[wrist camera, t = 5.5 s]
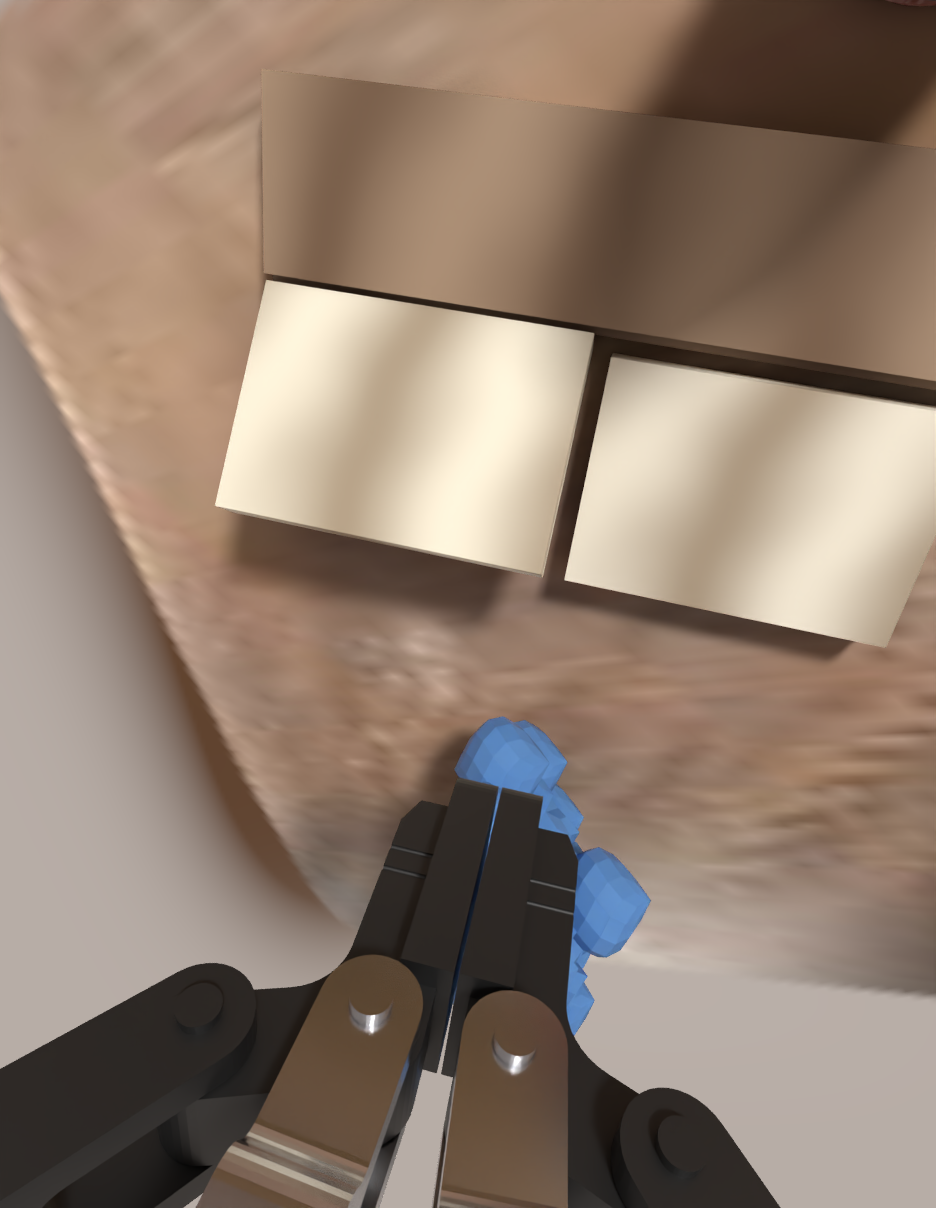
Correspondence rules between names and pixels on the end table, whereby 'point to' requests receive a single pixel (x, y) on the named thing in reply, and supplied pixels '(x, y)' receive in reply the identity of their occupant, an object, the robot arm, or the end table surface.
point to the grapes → (603, 882)
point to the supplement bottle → (915, 2)
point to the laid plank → (607, 222)
